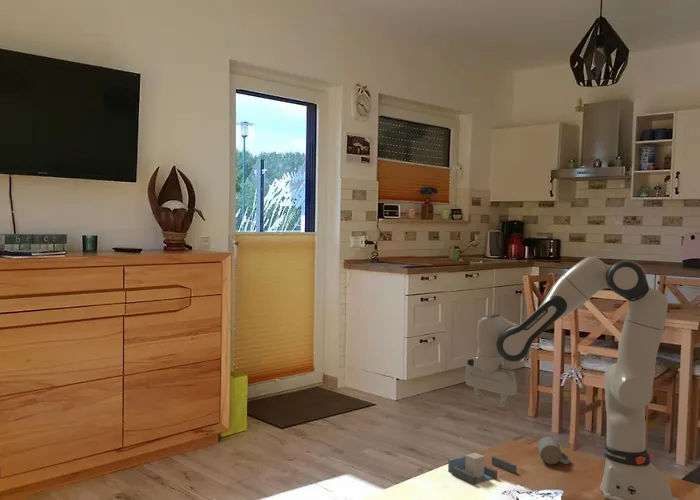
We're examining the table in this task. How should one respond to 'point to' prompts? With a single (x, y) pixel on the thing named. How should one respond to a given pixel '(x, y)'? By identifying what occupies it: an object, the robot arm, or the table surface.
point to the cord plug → (475, 464)
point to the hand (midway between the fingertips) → (490, 403)
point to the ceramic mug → (551, 451)
